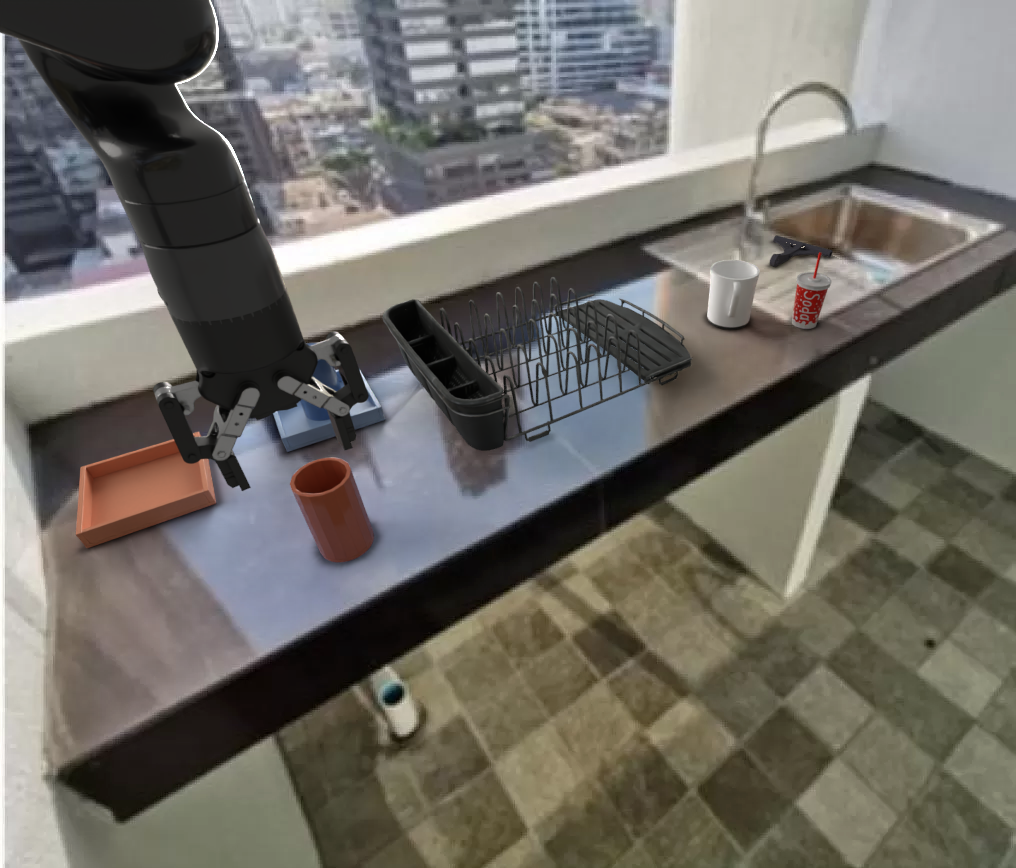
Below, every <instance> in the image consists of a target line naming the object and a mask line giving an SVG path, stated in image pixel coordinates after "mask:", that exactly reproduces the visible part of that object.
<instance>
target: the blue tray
mask: <svg viewBox="0 0 1016 868" xmlns="http://www.w3.org/2000/svg"><path fill="white" fill-rule="evenodd" d="M335 370H336V373H337V376H338V379H339V382H340V385H341V388H342V387H344V384H343V381H342V378H341V376H340V373H339V371H338V369H335ZM359 370H360V373H361V375H362V378H363V381H364V384H365V386H366V389H367V392H368V395H369V397H368V399H367V401H365V402H363V403H357V404H355V405H354V406H353V407H352V408H351V409H350V416H351V419H352V422H353V426H354V429H355V431H356V430H358V429H359V430H360V429H362V428H365V427H369V426H371V425H374V424H376V423H380V422H383V421H385V420H386V417H385V414H384V411H383V408H382V406H381V404H380V402H379V400H378V398H377V397H376V395H375V394H374V392H373V389H372V388H371V386H370V385H369V382H368V381H367V379H366V377H365V375H364V374H363V373H362V370H361V369H360V368H359ZM272 415H273V417H274V421H275V424H276V427H277V429H278V430H277V431H278V433H279V435H280V439H281V441H282V443H283V446H284V448H285V449H286V450H285V451H286V452H287V453H288V452H292V451H295V450H298V449H301V448H305V447H307V446H310V445H313V444H316V443H319V442H322V441H326V440H329V439H331V438H334V437H336V435H335V432H334V429H333V426H332V423H331V420H330V419H328V420H323V421H314V420H311V419H308V418H307V417H306V416H305V414H304V411H303V408H302V406H301V403H300V402H298V403H297V407H294V408H291V409H289V410H282V411H276V412H275V413H273V414H272Z"/></svg>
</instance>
